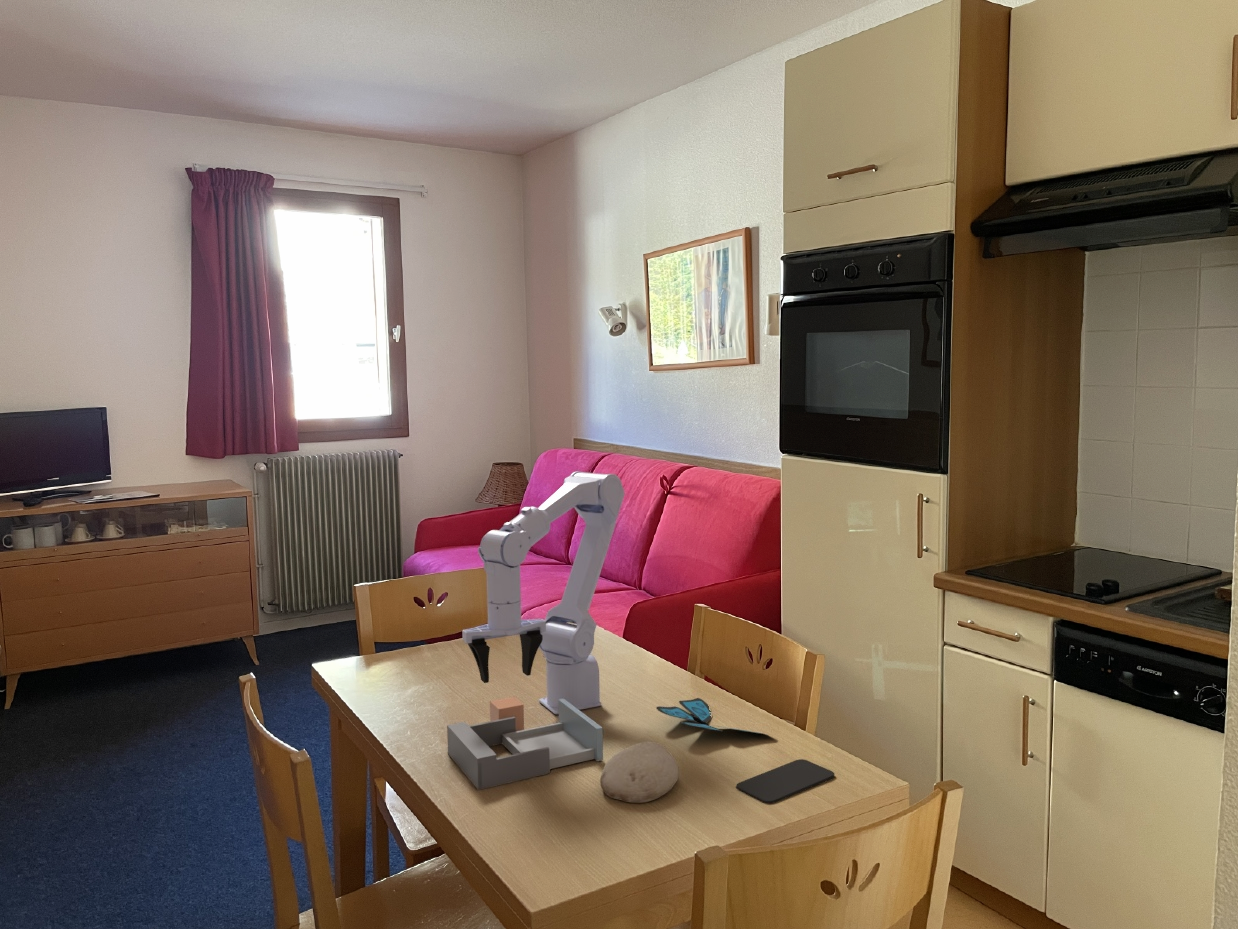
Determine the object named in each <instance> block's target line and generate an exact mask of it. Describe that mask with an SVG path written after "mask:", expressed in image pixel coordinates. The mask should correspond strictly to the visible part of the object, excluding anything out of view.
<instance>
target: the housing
mask: <svg viewBox="0 0 1238 929" xmlns="http://www.w3.org/2000/svg"><path fill="white" fill-rule="evenodd" d="M446 732H447V735H446V738H447V754H448V756H450V758H451V759H452V760H453V761H454V763H455V764H456V765H457V766H458V768H459V769H460V770H461V771H462V772H463V773H464V774H465V776H466V777H467V778H468V779H469V780H470V782H471V783H472V784H473V785H474V786H475V789H477V790H478V791H479V790H484V789H487V788H493V787H497V786H500V785H506V784H508V783H513V782H514V783H515V782H517V781H521V780H522V781H523V780H527V779H531V778H535V777H539V776H543V775H549V774H551V773H550V772H551V769H550V754H549V748H548V747H545V748H541V749H536V750H532V751H527V752H522V753H518V754H509V755H505V756H500V757H497V753H495V751H494V750H493V749H492V748H491V747H492V746H497V745H503V744H502V734H506V733H511V732H516V726H515V717H510V718H505V719H500V720H495V721H490V720H489V721H486V722H479V723H474V724H470V725H468V723H467V722H466V721H460V722H457V723H456V722H455V723H451V724H450V723H449V724H447V725H446ZM548 773H549V774H548Z"/></svg>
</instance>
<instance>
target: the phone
mask: <svg viewBox="0 0 1238 929" xmlns="http://www.w3.org/2000/svg"><path fill="white" fill-rule="evenodd" d="M833 779H835V772H834V771H832V770H830V769H828V768H825V767H824V766H821V765H819V764H816V763H813V762H811V761H809V760H807V759H803V758H802V759H796V760H793V761H790V762H789V763H785V764H783V765H780V766H778V767H775V768H773V769H770V770H768V771H765V772H763V773H760V774H758V775H756V776H752V777H750V778H747V779H745V780H743V781H739V782H737V783H736V785H735V788H736V790H737V791H738V792H741V793H743V794H745V795H747V796H749V797H751V798H753V799H755V800H757V801H759V802H760V803H763V804H768V805H771V804H775V803H777V802H780V801H783V800H785V799H787V798H790V797H792V796H796V795H797V794H800V793H801V792H805V791H807V790H809V789H812V788H815V787H817V786H819V785H821V784H824V783H826V782H829V781H831V780H833Z"/></svg>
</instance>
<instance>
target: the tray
mask: <svg viewBox="0 0 1238 929" xmlns="http://www.w3.org/2000/svg"><path fill="white" fill-rule="evenodd" d="M558 707H559V714H558V722H556V723H551V724H547V725H541V726H537V727H531V728H524V730H520V731H516V732H511V733H506V734H502V744H501V745H503V747H504V748H506V749H507V750H508V751H509V752H510V753H511V755H513V754H518V753H522V752H527V751H532V750H536V749H541V748H545V747H548V748H549V754H550V770H551V769H556V768H560V767H564V766H565V767H566V766H568V765H569V766H570V765H574V764H579V763H582V762H587V761H590V760H591V761H592V760H595V761H597V762H600V761H603V760H604V743H603V742H604V741H603V740H604V737H603V734H604V733H603V732H604V731H603V730H604V729H603V727H602V726H601V725H600V724H598V723H597V722H596V721H594V720H593V719H592V718H591V717H589V716H587V715H586V714H585V713H584V712H582V711H581V710H578V709H577V708H576V707H574V706H573V705H572V704H570V703H569V702H568V701H566V700H565V699H559V700H558Z"/></svg>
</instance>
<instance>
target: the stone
mask: <svg viewBox="0 0 1238 929" xmlns="http://www.w3.org/2000/svg"><path fill="white" fill-rule="evenodd" d="M603 766H604V767H603V770H602V772H601V774H600V779H599V782H600V788H601V790H602V791H603V792H604V794H606V795H607V796H608V797H609V798H610V799H614V800H620V801H624V802H627V803H635V804H637V803H638V804H639V803H640V804H641V803H649V802H652V801H654V800H657V799H659V798H660V797H662V796H664V795H665V794H667V793H668V792H670V791H671V790H672V788H673V787H674V785H675V784H676V783H677V781H678V780H679V776H680V770H679V765H678V763H677V760H676V758H675V757H674V755H672V753H671V752H670V751H669V750H668V749H667V748H666V747H665V746H664V745H663V744H661V743H658V742H655V741H653V740H652V741H651V740H647V741H643V742H639V743H636V744H633V745H631V746H628V747H626V748H623V749H621V750H619V751H618V752H617V753H615V754H614V755H613V756H611V757H610V758H609V759H608V760H607V761H606V763H605V764H604V765H603Z"/></svg>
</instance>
